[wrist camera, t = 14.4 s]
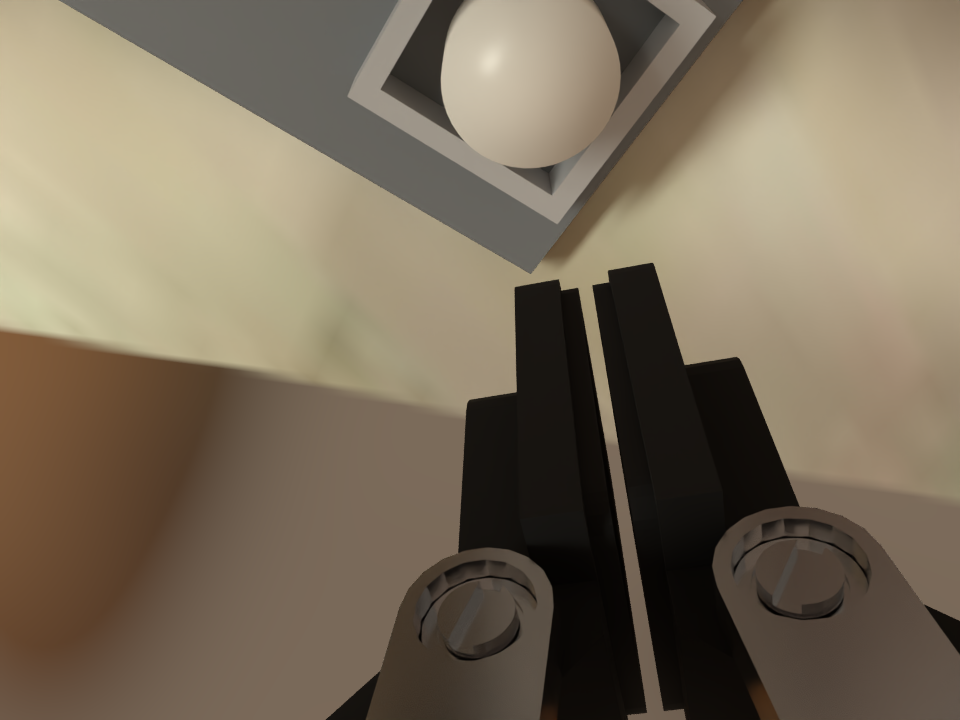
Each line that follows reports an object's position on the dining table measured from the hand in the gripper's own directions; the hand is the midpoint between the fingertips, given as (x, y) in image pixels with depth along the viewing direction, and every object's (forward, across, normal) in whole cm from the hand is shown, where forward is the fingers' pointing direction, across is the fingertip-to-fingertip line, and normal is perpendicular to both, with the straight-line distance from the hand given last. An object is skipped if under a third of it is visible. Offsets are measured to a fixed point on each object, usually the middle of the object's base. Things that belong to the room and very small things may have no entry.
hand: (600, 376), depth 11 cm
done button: (+13, 0, -1) cm, 13 cm away
